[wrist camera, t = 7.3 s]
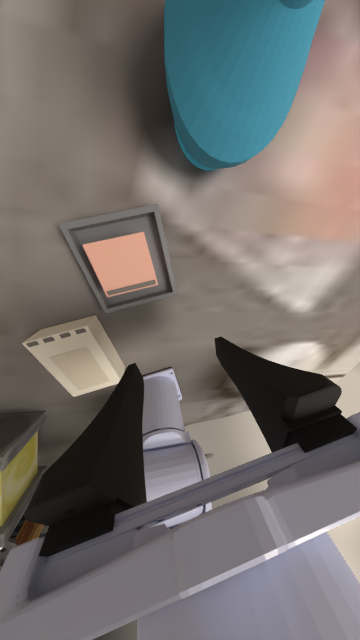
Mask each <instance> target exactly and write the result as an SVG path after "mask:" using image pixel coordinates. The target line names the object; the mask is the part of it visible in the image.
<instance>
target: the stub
mask: <svg viewBox="0 0 360 640" xmlns="http://www.w3.org/2000/svg"><path fill="white" fill-rule="evenodd" d="M83 247H84V250H85V252H86V254H87V256H88V258H89V260H90V262H91V264H92V266H93V268H94V271H95V273H96V275H97V277H98V279H99V281H100V283H101V285H102V287H103V289H104V291H105V294H106V296H107V297H111V296H115V295H119V294H123V293H127V292H131V291H135V290H139V289H143V288H147V287H151V286H155V285H158V282H157V278H156V275H155V271H154V267H153V264H152V260H151V256H150V253H149V249H148V245H147V242H146V238H145V234H144V232H140V233H135V234H130V235H126V236H121V237H116V238H112V239H107V240H102V241H97V242H93V243H88V244H83Z"/></svg>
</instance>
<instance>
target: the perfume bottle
mask: <svg viewBox="0 0 360 640" xmlns="http://www.w3.org/2000/svg"><path fill="white" fill-rule="evenodd" d="M324 2H325V0H165V9H164V64H165V73H166V82H167V89H168V95H169V100H170V104H171V108H172V113H173V117H174V124H175V131H176V135H177V139H178V142H179V144H180V147H181V149H182V151H183V153H184V154H185V156H186V157H187V159H188V160H189V161H190V162H191V163H192V164H193V165H195V166H196V167H198V168H200V169H202V170H207V171H210V170H215V169H218V168H229V167H234V166H237V165H239V164H242V163H244V162H246V161H247V160H249V159H250V158H252V157H253V156H255V155H256V154H257V153H259V152H260V151H262V150H263V149H264V148H265V147H266V146H267V145H268V144H269V142H270V141H271V140H272V139H273V138H274V136H275V135H276V133H277V132H278V130H279V129H280V127H281V126H282V124H283V122H284V120H285V118H286V116H287V114H288V112H289V110H290V108H291V105H292V103H293V100H294V97H295V95H296V92H297V89H298V86H299V83H300V80H301V77H302V74H303V71H304V68H305V65H306V61H307V58H308V54H309V50H310V47H311V43H312V40H313V37H314V33H315V30H316V27H317V24H318V21H319V18H320V14H321V11H322V8H323V5H324Z"/></svg>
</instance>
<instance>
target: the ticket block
mask: <svg viewBox="0 0 360 640" xmlns="http://www.w3.org/2000/svg"><path fill="white" fill-rule="evenodd" d="M22 344H23V345H24V346H25V347H26V348H27V349H28V350H29V351H30V352H31V353H32V354H33V355H34V356H35V357H36V359H37V360H38V361H39V362H40V363H41V364H42V365H43V366H44V367H45V368H46V369H47V370H48V371H49V372H50V373H51V374H52V375H53V376H54V377H55V378H56V379H57V380H58V381H59V382H60V383H61V384H62V385H63V386H64V387H65V388H66V390H67V391H68V392H69V393H70V394H71V395H72V396H73V397H75V396H79V395H82V394H85V393H88V392H92V391H95V390H98V389H102V388H105V387H108V386H111V385H115V384H118V383H119V381H120V380H121V378H122V376H123V374H124V370H125V366H124V364H123V362H122V361H121V359H120V357H119V355H118V354H117V352H116V350H115V348H114V346H113V345H112V343H111V341H110V339H109V338H108V336H107V334H106V332H105V330H104V329H103V327H102V325H101V323H100V322H99V320H98V318H97V316H96V315H94V316H90V317H86V318H83V319H79V320H75V321H71V322H67V323H63V324H60V325H56V326H52V327H48V328H44V329H41V330H39V331H38V332H37V333H35V334H34V335H32V336H31V337H30V338H28V339H27V340H26V341H24V342H23V343H22Z"/></svg>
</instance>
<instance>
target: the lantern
mask: <svg viewBox="0 0 360 640" xmlns="http://www.w3.org/2000/svg"><path fill="white" fill-rule="evenodd" d="M46 421H47V412H46V411H43V412H31V413H20V414H8V415H0V547H3V548H2V549H1V550H0V561H1V562H0V571H1V569H2V567H3V565H4V562H5V560H6V558H7V556H8V554H9V552H10V550H11V549H12V548H13V547H16V546H18V545H21V544H24V543H26V542H29V541H31V540H34V539H37V538H38V536H39V534H40V532H41V530H42V528H43V526H44V525H42V524H37V523H33V522H30V521H27V520H26V521H25V522H24V524H23V526H22V528H21V529H20V531H19V533H18V535H17V536H16V538H15V540H12V539H10V538H9V537H10V536H11V534H12V532H13V531H14V529H15V527H16V526H17V524H18V522H19V520H20V519H21V517H22V515H23V514H24V512H25V510H26V508H27V507H28V505H29V503H30V500H31V498H32V496H33V494H34V492H35V490H36V488H37V486H38V484H39V482H40V479H41V477H42V475H43V474H44V473H45V472H46V466H42V467H38V430H39V429H40V428H41V426H42V425H43V424H44V423H45V422H46ZM3 552H4V553H3ZM2 553H3V554H2Z"/></svg>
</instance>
